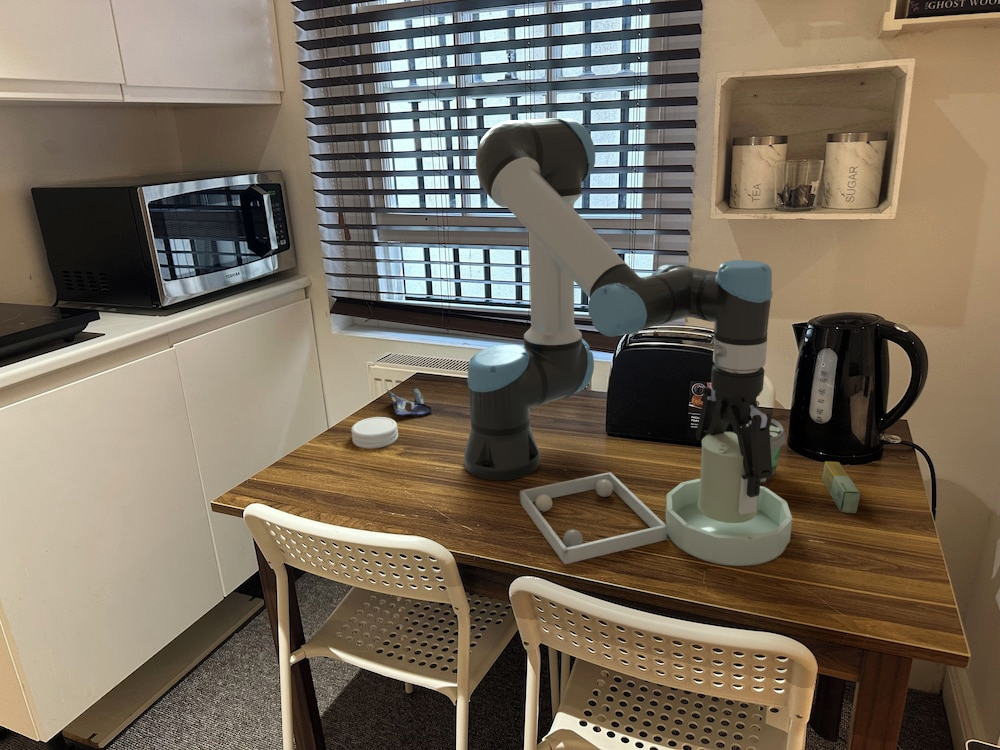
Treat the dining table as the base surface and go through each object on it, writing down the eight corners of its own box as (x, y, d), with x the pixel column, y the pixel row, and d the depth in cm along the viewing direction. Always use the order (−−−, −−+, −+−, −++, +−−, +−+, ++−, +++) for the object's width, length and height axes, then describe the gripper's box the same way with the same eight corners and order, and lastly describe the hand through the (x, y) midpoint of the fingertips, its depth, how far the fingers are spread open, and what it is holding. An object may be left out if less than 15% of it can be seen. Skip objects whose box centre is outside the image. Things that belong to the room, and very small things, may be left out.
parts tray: (520, 502, 127) (519, 490, 126) (610, 483, 132) (610, 472, 132) (564, 564, 109) (564, 550, 109) (666, 539, 115) (667, 526, 114)
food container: (786, 492, 127) (792, 441, 124) (750, 490, 128) (755, 440, 125) (775, 461, 138) (780, 414, 135) (742, 459, 140) (746, 412, 136)
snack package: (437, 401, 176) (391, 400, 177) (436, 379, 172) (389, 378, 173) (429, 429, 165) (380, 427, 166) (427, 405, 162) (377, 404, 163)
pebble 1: (532, 508, 125) (532, 493, 124) (548, 504, 126) (548, 489, 125) (539, 516, 123) (538, 501, 122) (555, 512, 124) (554, 497, 123)
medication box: (857, 514, 120) (861, 493, 118) (840, 513, 120) (844, 492, 119) (836, 480, 131) (839, 460, 129) (820, 479, 131) (823, 460, 130)
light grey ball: (592, 493, 129) (592, 477, 128) (608, 490, 130) (608, 474, 129) (600, 501, 127) (600, 485, 125) (616, 498, 127) (616, 482, 126)
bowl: (644, 514, 122) (645, 490, 120) (738, 493, 127) (740, 469, 126) (708, 577, 105) (710, 550, 103) (814, 550, 110) (817, 523, 109)
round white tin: (345, 438, 157) (343, 424, 156) (385, 426, 162) (383, 412, 161) (365, 454, 149) (363, 439, 148) (406, 440, 154) (405, 426, 153)
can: (687, 510, 114) (690, 443, 110) (713, 488, 121) (718, 424, 116) (741, 530, 108) (747, 459, 104) (766, 505, 115) (773, 438, 110)
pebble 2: (559, 545, 114) (559, 528, 113) (578, 540, 115) (577, 523, 114) (567, 555, 111) (567, 538, 110) (586, 551, 112) (586, 534, 111)
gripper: (677, 348, 115) (671, 472, 122) (764, 393, 95) (751, 537, 103) (717, 342, 117) (709, 464, 125) (809, 384, 97) (794, 526, 105)
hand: (728, 497), depth 114 cm, fingers closed on can, 9 cm apart
